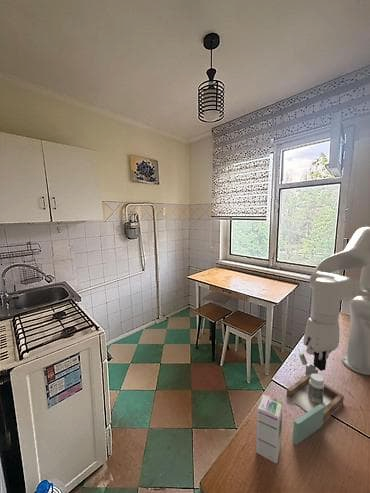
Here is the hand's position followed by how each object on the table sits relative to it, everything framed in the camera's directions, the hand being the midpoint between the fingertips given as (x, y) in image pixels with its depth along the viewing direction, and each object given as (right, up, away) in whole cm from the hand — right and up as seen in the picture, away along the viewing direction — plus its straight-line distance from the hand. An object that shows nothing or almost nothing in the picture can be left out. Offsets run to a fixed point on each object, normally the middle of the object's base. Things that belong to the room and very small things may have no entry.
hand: (319, 367), depth 72 cm
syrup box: (-21, -18, -10) cm, 30 cm away
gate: (-7, -16, -6) cm, 19 cm away
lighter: (+7, -13, +18) cm, 23 cm away
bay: (+2, -15, +6) cm, 16 cm away
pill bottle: (+2, -15, +6) cm, 16 cm away
